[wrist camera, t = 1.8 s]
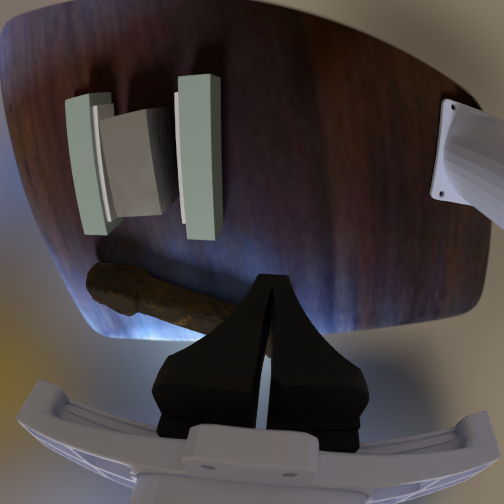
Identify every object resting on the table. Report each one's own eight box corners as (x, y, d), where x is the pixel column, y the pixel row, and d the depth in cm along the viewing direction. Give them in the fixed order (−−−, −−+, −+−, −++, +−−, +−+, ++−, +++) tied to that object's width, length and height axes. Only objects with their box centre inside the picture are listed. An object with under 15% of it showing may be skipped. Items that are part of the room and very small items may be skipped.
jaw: (220, 77, 17) (210, 73, 14) (223, 222, 22) (215, 240, 20) (187, 80, 17) (171, 77, 15) (193, 221, 23) (181, 238, 20)
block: (169, 106, 18) (145, 109, 15) (181, 195, 22) (161, 214, 18) (127, 115, 19) (99, 120, 15) (140, 198, 22) (117, 217, 19)
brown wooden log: (290, 307, 26) (289, 343, 22) (273, 335, 28) (271, 371, 24) (101, 237, 25) (74, 262, 21) (99, 270, 27) (76, 296, 23)
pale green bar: (115, 91, 18) (93, 92, 15) (128, 219, 23) (111, 235, 21) (74, 101, 18) (51, 104, 15) (89, 219, 23) (71, 233, 21)
